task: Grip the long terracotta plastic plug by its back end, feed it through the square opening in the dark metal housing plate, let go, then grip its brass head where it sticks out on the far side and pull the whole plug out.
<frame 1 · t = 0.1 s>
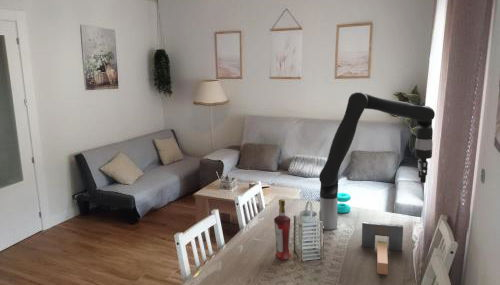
hand: (421, 180, 180), 29 cm above the table, tool pointing down, fingers open, 8 cm apart
housing plate: (381, 247, 175), on the table
plug: (381, 262, 163), on the table
liquor: (283, 258, 169), on the table
donuts: (341, 210, 222), on the table
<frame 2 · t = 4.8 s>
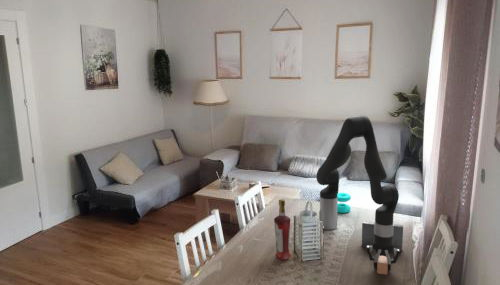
hand: (382, 270, 156), 0 cm above the table, tool pointing down, fingers closed on plug, 4 cm apart
plug: (381, 261, 163), on the table, touching gripper
everything else where it was.
when the fingers open (1 cm above the table, at t = 8.0 s): plug stays where it is, on the table.
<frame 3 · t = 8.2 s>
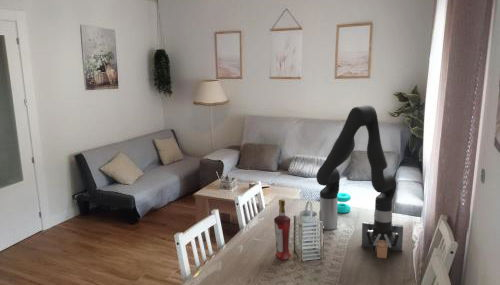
hand: (381, 252, 168), 1 cm above the table, tool pointing down, fingers open, 5 cm apart
plug: (381, 247, 175), on the table
everything else where it was.
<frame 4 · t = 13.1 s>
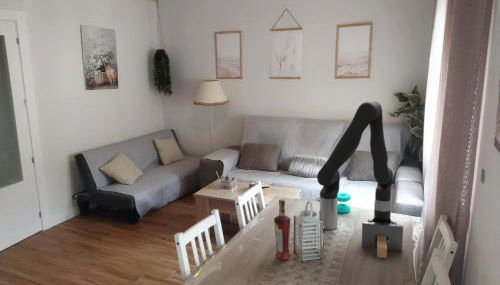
hand: (381, 240, 182), 0 cm above the table, tool pointing down, fingers closed on plug, 4 cm apart
plug: (381, 247, 175), on the table, touching gripper
everything else where it was.
when the fingers open (1 cm above the table, at t = 16.7 s): plug stays where it is, on the table.
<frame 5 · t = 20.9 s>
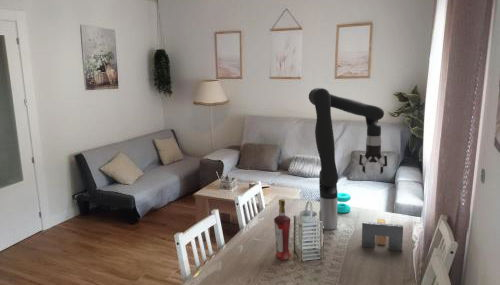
hand: (372, 173, 199), 28 cm above the table, tool pointing down, fingers open, 8 cm apart
plug: (381, 235, 188), on the table
everything else where it was.
at the end: plug inside the target area on the table beside the housing plate (4.1 cm from its centre), on the table; plug touching table; the gripper is holding nothing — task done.
